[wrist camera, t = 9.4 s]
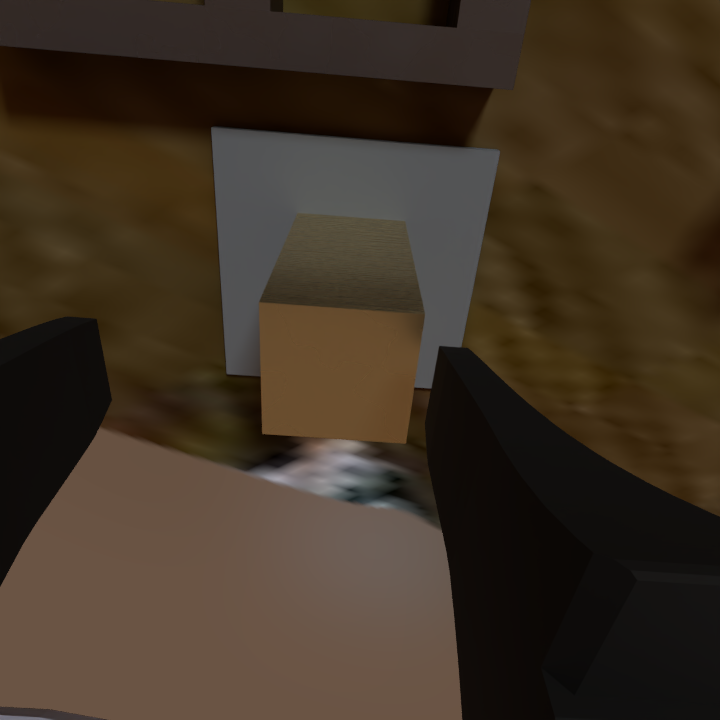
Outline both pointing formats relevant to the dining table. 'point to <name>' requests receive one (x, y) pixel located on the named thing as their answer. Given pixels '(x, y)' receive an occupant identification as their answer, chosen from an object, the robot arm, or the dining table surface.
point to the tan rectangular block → (341, 331)
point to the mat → (350, 199)
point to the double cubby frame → (281, 37)
